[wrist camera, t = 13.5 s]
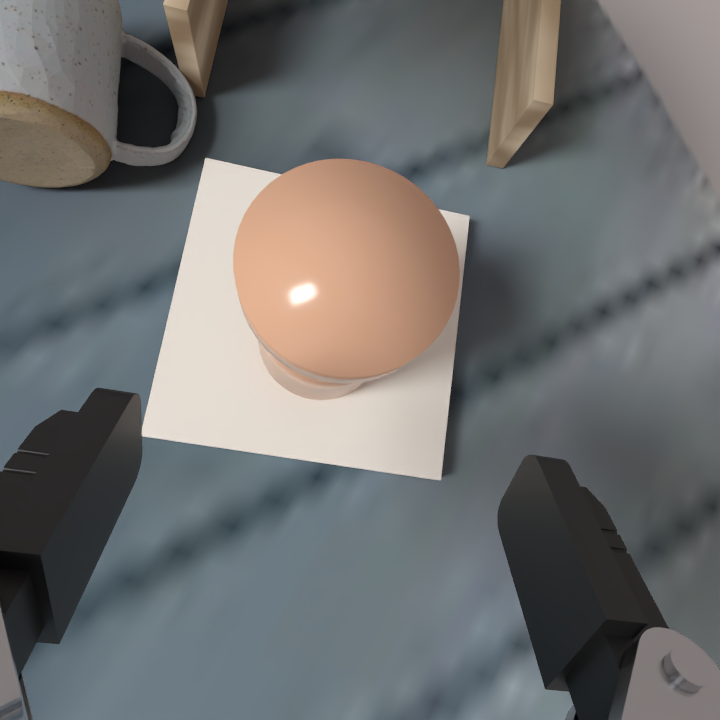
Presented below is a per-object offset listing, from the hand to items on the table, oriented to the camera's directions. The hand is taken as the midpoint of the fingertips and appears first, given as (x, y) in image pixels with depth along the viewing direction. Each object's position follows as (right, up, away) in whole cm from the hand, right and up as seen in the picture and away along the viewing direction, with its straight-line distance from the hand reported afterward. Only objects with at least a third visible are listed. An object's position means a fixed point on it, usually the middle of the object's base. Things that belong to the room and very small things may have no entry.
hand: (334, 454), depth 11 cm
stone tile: (-2, +4, +15) cm, 16 cm away
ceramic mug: (-13, +14, +16) cm, 25 cm away
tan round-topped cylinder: (-1, +3, +14) cm, 15 cm away
